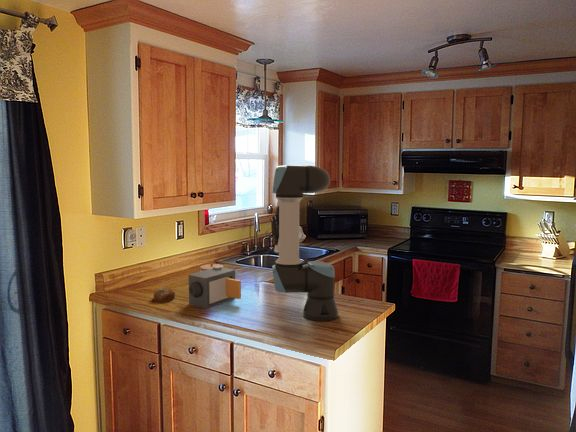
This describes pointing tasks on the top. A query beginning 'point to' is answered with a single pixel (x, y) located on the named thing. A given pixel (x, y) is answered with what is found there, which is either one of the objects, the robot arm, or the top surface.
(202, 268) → the lidded bowl
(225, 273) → the box
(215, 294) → the door
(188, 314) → the top surface
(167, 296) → the bread roll
